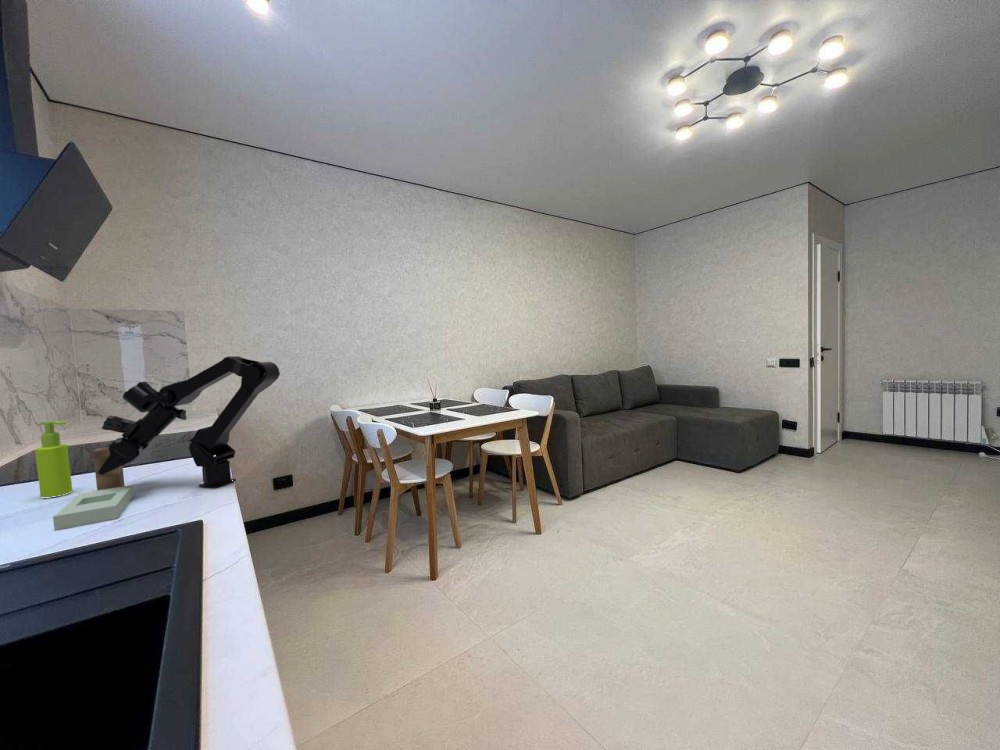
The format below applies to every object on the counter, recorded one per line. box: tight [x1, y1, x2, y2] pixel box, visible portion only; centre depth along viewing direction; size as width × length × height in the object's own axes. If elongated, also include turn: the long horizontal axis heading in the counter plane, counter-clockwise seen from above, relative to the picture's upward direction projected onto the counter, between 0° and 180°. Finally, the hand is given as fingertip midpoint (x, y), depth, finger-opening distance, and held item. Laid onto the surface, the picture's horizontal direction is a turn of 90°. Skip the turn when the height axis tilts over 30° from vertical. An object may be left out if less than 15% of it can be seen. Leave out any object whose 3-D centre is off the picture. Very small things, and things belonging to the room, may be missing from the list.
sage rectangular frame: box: [52, 484, 134, 531], centre depth 99 cm, size 18×10×3 cm, turn 32°
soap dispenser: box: [35, 420, 73, 498], centre depth 112 cm, size 6×7×20 cm
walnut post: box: [92, 446, 126, 491], centre depth 110 cm, size 4×4×12 cm
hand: (104, 469), depth 110 cm, fingers open, 9 cm apart
